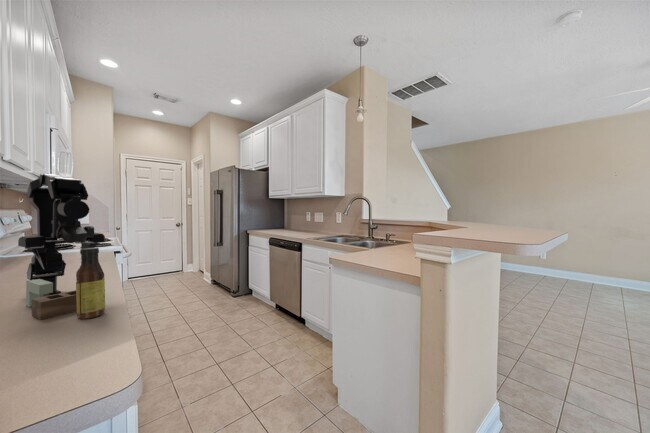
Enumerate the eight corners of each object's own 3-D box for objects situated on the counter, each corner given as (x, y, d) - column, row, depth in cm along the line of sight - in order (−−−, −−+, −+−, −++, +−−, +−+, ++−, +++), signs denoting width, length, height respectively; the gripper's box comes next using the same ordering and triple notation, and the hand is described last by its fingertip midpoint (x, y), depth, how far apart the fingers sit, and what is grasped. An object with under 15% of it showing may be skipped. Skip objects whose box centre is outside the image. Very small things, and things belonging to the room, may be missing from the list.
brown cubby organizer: (31, 316, 75) (32, 298, 75) (84, 303, 86) (84, 288, 86) (40, 320, 72) (40, 302, 72) (93, 306, 83) (94, 291, 83)
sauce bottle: (110, 312, 79) (111, 247, 79) (90, 320, 73) (90, 250, 72) (91, 311, 79) (92, 246, 79) (69, 319, 73) (69, 249, 73)
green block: (26, 305, 83) (26, 280, 83) (39, 303, 85) (39, 278, 85) (39, 311, 78) (39, 285, 78) (52, 308, 81) (53, 282, 81)
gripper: (34, 219, 70) (33, 276, 70) (114, 218, 87) (113, 264, 87) (17, 217, 75) (17, 270, 75) (96, 217, 92) (95, 260, 92)
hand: (64, 266), depth 82 cm, fingers open, 9 cm apart
